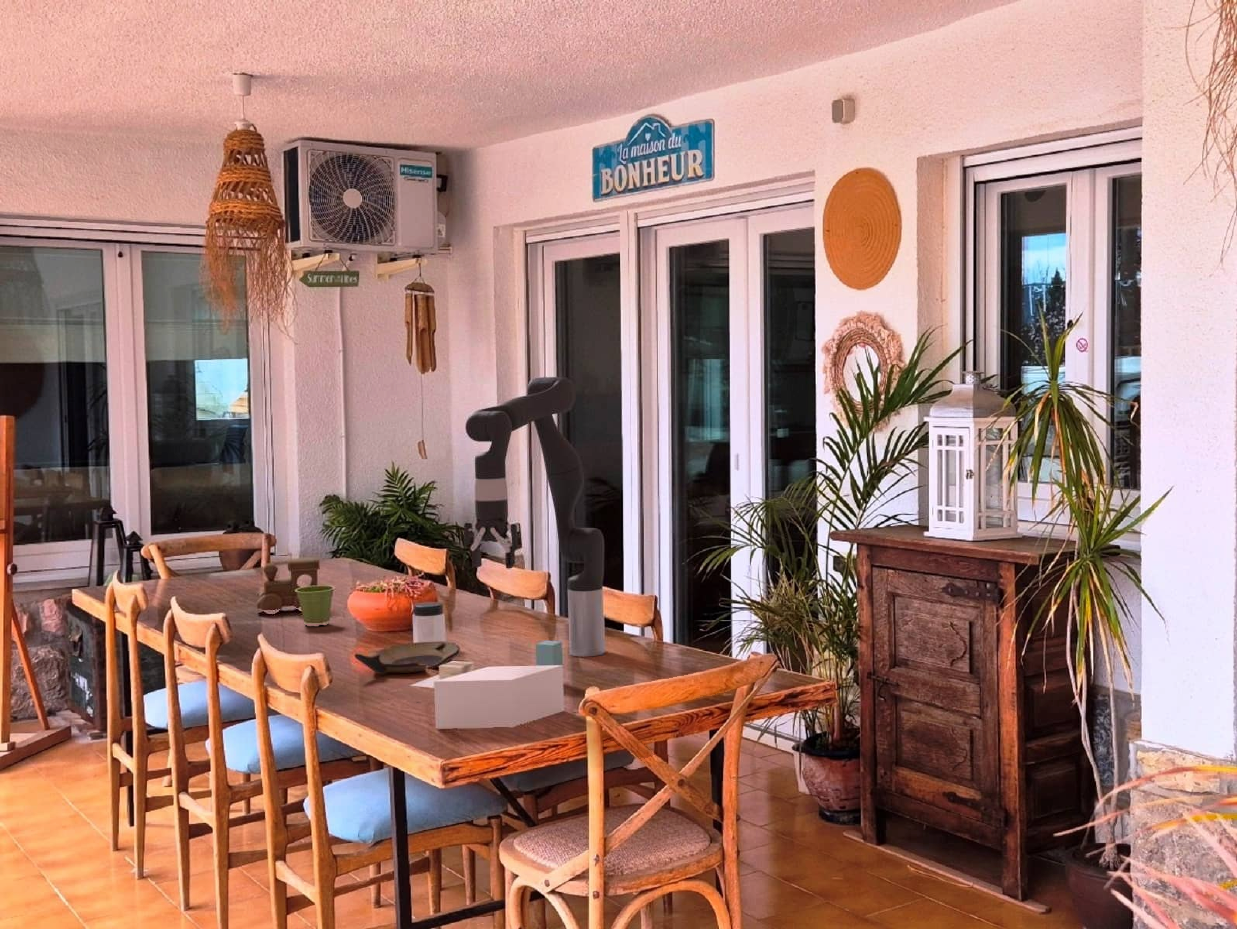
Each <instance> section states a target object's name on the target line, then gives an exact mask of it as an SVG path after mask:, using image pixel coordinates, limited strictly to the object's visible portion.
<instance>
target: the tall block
mask: <svg viewBox="0 0 1237 929" xmlns="http://www.w3.org/2000/svg"><path fill="white" fill-rule="evenodd" d="M535 654H536V655H535V657H536V666H550V665H563V642H562V641H557V640H543V641H541V642H537V643H536V644H535Z"/></svg>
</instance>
